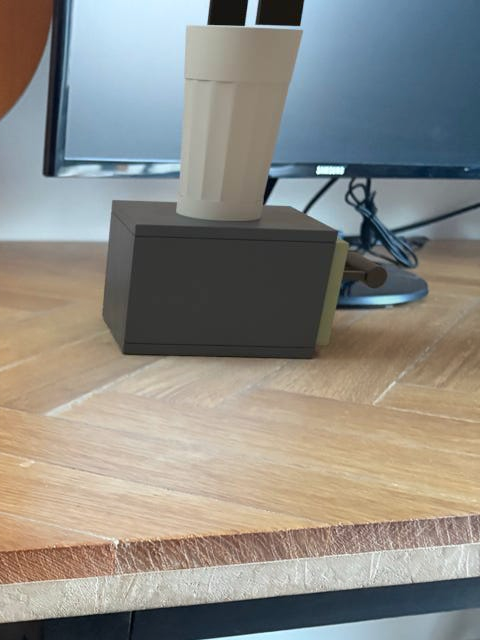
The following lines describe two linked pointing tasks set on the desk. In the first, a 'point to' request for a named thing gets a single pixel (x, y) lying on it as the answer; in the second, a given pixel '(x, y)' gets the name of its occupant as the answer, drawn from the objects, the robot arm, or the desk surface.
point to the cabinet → (215, 282)
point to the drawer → (346, 269)
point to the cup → (232, 117)
